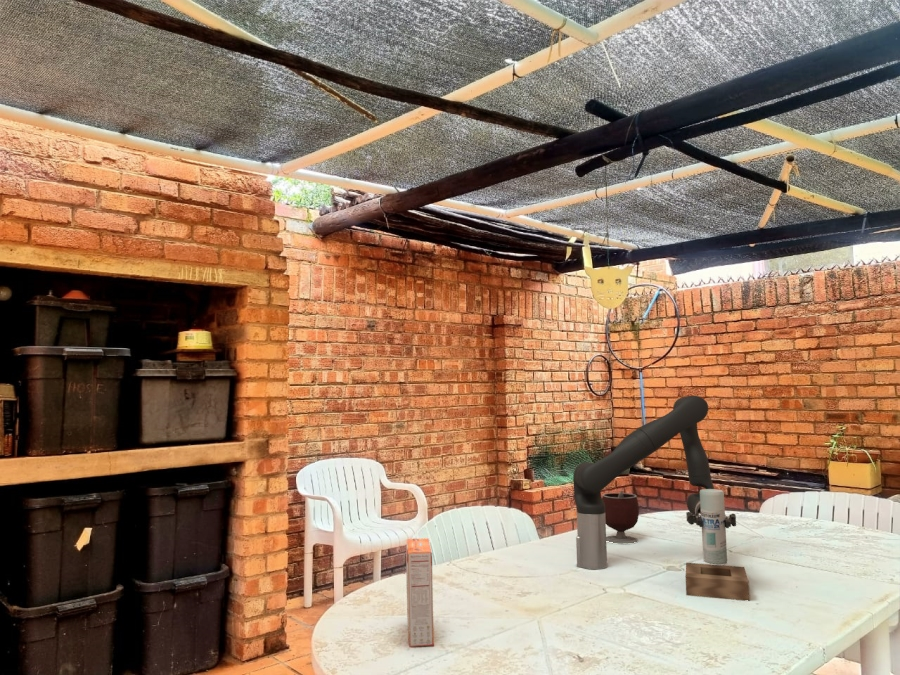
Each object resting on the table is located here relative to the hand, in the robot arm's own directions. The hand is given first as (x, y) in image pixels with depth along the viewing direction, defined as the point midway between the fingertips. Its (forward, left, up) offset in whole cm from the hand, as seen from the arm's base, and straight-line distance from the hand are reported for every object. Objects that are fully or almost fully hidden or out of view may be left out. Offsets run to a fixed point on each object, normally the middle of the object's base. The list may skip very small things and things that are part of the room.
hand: (714, 524), depth 182 cm
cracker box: (-66, -58, -19) cm, 90 cm away
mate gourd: (-32, +57, -19) cm, 68 cm away
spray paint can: (0, +2, -11) cm, 11 cm away
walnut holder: (0, +2, -19) cm, 19 cm away
